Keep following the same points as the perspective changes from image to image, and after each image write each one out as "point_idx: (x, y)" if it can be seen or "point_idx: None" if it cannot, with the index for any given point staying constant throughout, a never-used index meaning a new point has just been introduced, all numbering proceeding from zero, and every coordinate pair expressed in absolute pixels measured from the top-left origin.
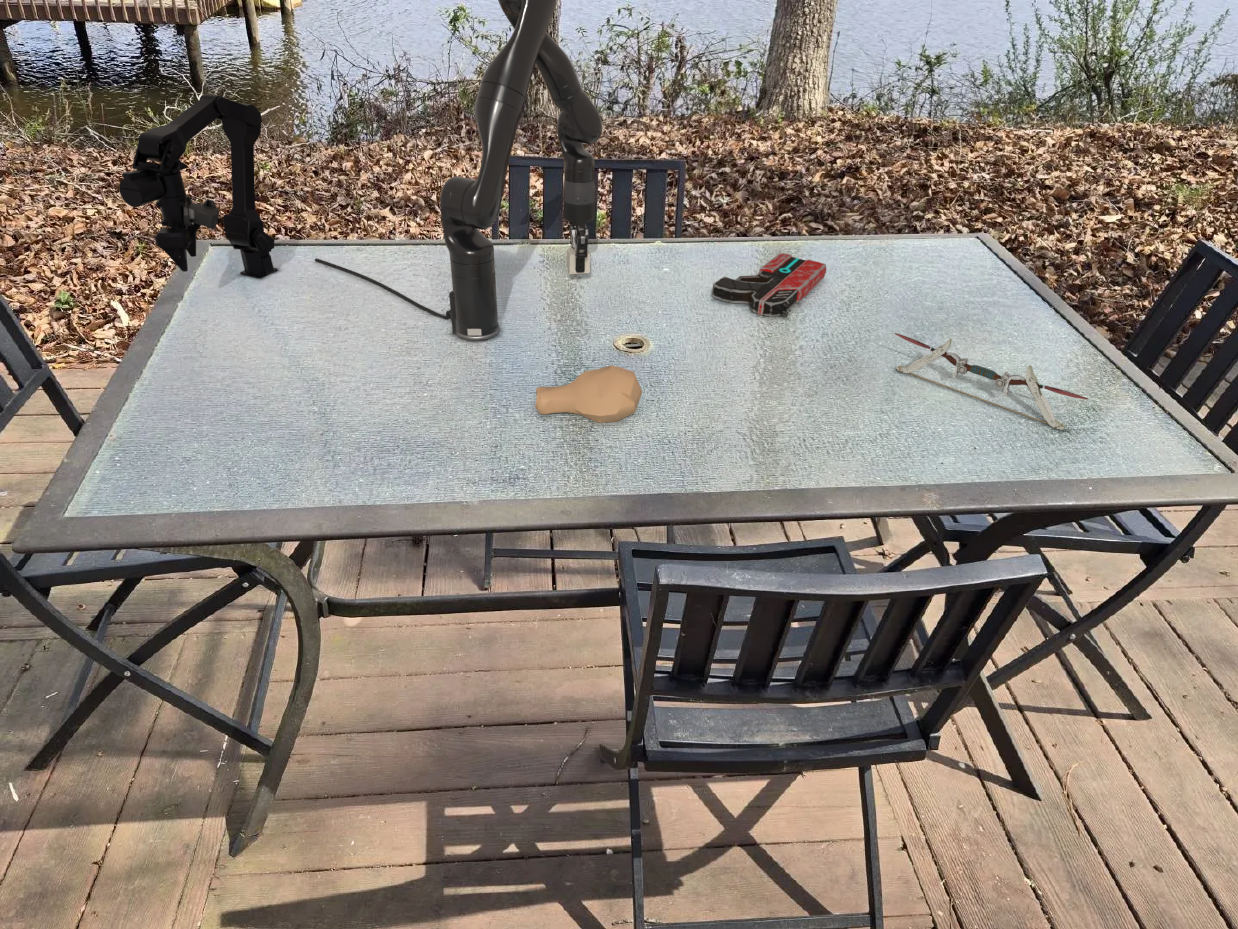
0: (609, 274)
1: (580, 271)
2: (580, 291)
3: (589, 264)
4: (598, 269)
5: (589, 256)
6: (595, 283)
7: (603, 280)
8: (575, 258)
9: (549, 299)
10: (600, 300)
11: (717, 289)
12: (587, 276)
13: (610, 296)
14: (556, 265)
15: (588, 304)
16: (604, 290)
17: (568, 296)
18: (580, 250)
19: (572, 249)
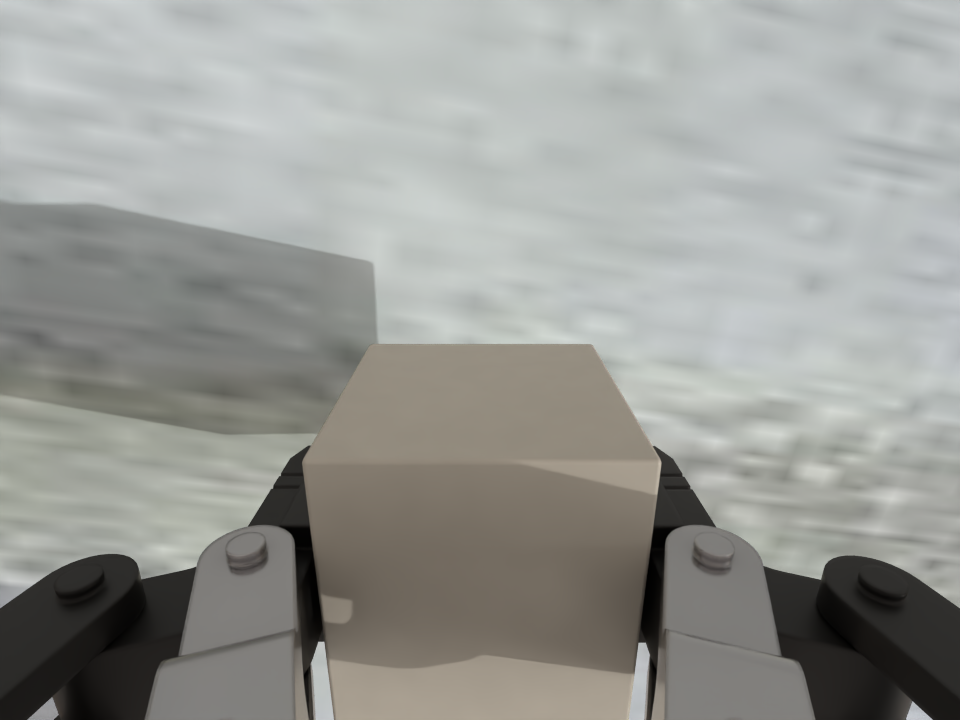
0: (265, 30)
1: None
2: (661, 395)
3: (619, 391)
4: (119, 135)
5: (654, 452)
6: (504, 235)
7: (435, 136)
8: None
9: None
10: (910, 257)
11: None
12: (319, 283)
13: (857, 141)
14: (60, 505)
15: (947, 371)
16: (695, 175)
17: (735, 494)
18: (434, 580)
19: (379, 678)
